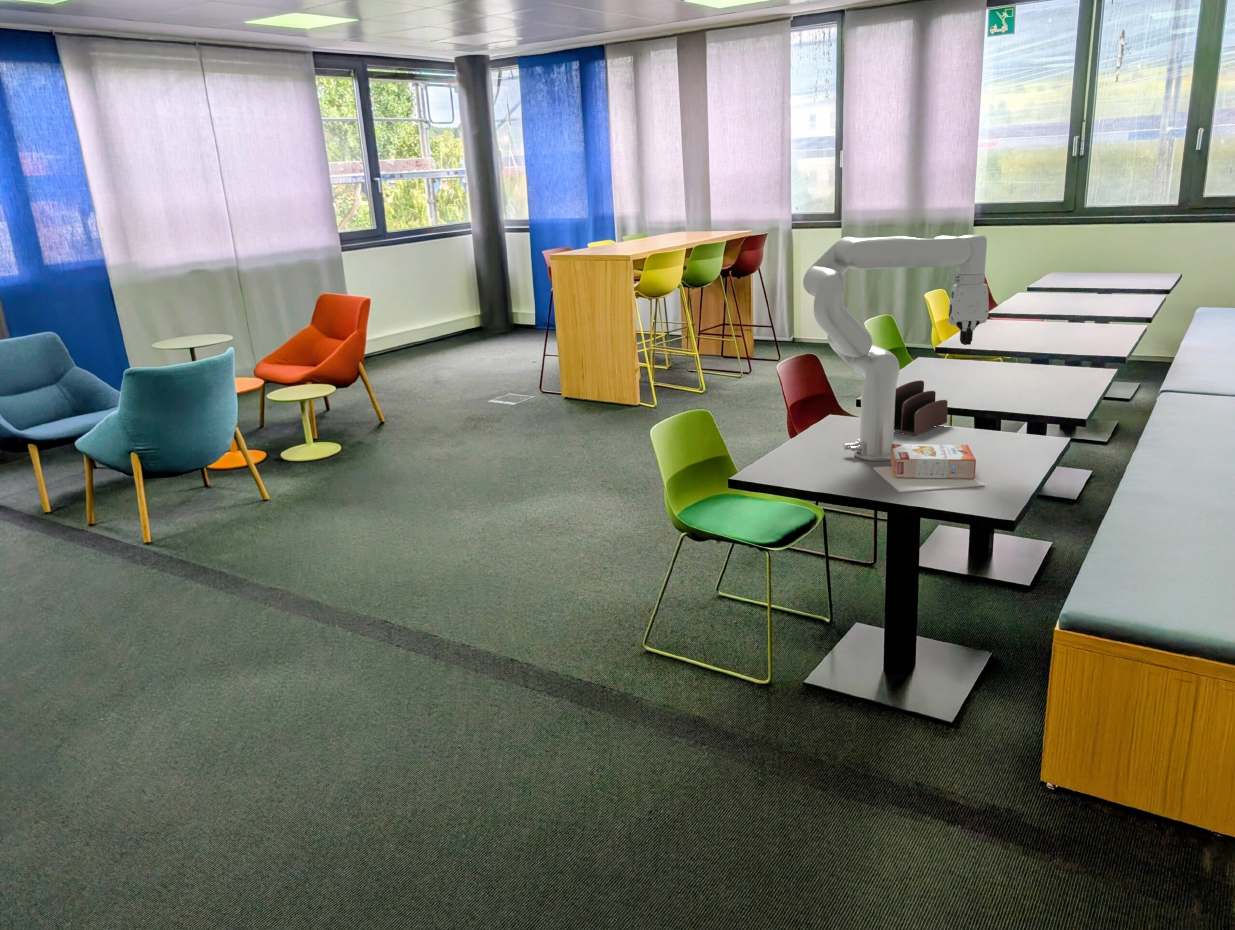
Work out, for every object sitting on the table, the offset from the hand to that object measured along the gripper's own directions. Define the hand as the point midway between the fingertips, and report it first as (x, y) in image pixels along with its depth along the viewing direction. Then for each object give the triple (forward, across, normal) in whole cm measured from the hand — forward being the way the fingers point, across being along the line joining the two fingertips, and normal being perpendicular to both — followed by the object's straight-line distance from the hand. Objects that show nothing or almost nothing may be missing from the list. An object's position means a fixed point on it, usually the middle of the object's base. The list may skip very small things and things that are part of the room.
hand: (965, 344), depth 263 cm
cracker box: (+28, -7, -23) cm, 37 cm away
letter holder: (+32, -3, +24) cm, 39 cm away
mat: (+31, -20, -24) cm, 44 cm away
